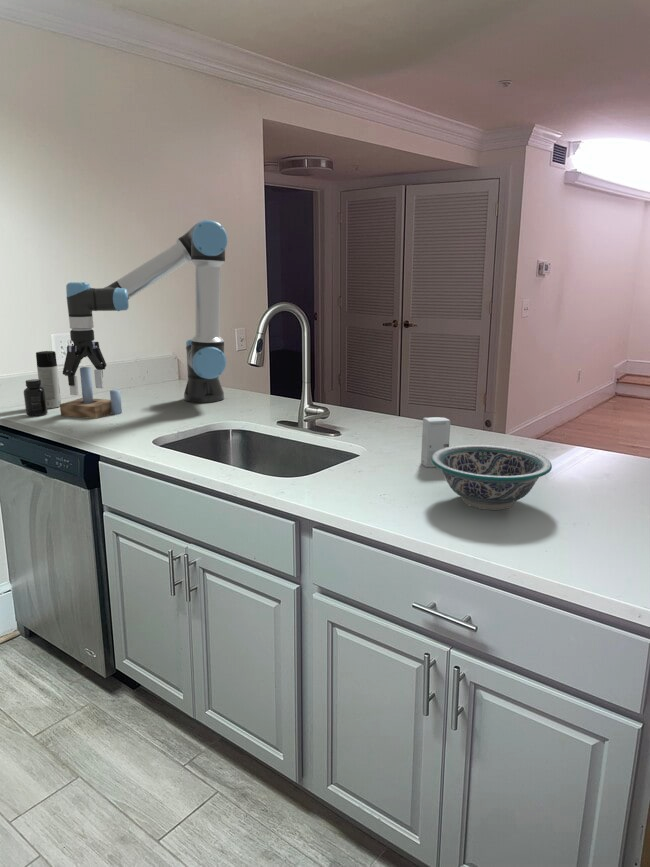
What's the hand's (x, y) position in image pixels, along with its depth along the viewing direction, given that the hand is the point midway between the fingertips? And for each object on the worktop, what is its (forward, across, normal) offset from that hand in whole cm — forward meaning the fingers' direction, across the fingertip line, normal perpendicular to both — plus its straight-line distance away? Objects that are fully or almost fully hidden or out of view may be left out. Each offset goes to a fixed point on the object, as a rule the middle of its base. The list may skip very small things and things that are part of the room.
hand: (87, 391), depth 224 cm
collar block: (+8, 0, 0) cm, 8 cm away
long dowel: (+8, 0, 0) cm, 8 cm away
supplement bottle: (+8, +7, -16) cm, 19 cm away
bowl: (+8, +48, +138) cm, 146 cm away
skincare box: (+8, +24, +123) cm, 126 cm away
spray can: (+8, -5, -20) cm, 22 cm away
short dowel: (+8, -3, +9) cm, 12 cm away
